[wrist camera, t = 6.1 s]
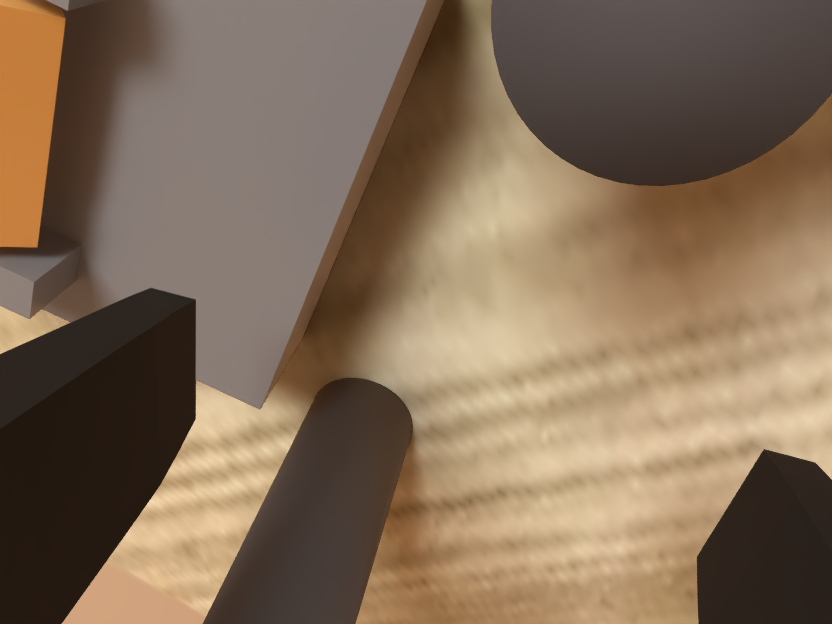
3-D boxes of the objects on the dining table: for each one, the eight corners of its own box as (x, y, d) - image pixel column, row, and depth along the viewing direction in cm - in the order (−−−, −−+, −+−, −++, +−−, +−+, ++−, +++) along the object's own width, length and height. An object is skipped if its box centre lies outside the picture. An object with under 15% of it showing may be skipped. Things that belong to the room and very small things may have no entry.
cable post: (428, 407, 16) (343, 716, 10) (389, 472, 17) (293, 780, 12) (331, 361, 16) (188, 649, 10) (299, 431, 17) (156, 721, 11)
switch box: (456, -28, 11) (408, 13, 8) (302, 337, 16) (232, 456, 12) (-84, -305, 11) (-363, -376, 8) (-85, 155, 15) (-261, 231, 12)
